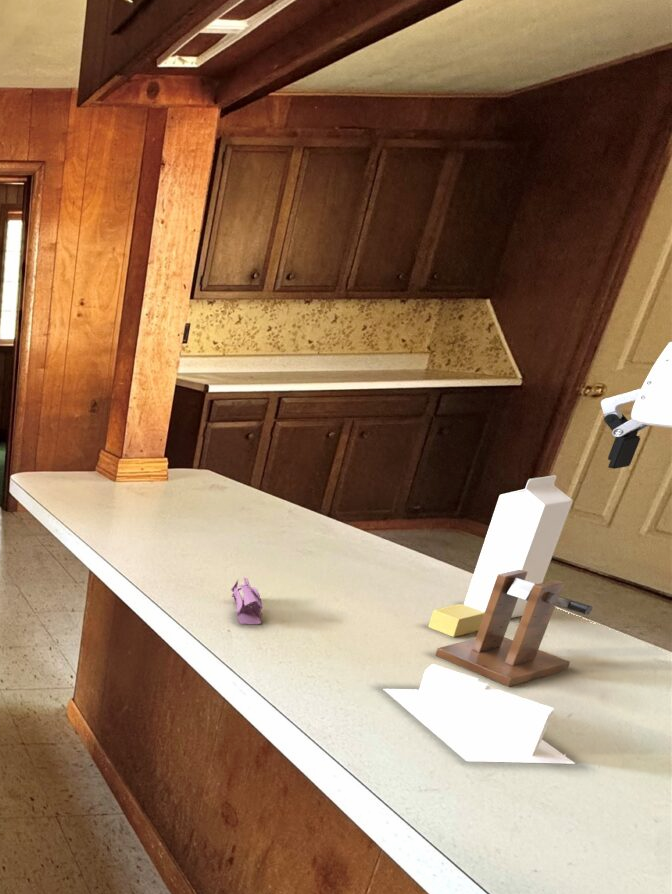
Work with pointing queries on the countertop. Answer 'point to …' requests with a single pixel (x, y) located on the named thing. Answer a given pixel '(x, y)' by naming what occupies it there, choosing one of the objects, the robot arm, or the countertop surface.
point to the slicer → (504, 655)
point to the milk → (520, 538)
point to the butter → (456, 620)
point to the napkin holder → (480, 718)
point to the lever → (524, 589)
